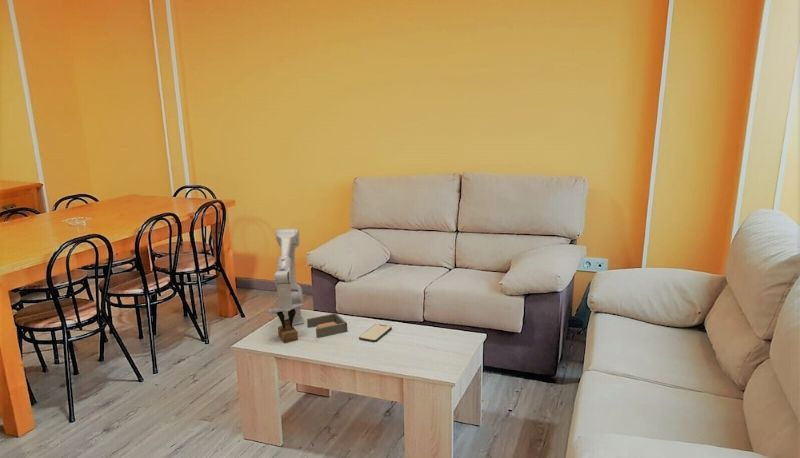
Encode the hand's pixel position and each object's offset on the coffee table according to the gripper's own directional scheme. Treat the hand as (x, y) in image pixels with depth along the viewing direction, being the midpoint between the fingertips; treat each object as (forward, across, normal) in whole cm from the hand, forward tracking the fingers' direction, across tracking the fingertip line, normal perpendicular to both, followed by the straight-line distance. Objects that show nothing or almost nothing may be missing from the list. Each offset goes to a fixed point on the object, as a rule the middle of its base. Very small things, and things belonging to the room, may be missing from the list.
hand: (287, 326), depth 256 cm
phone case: (+6, +35, -16) cm, 39 cm away
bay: (+5, +18, 0) cm, 19 cm away
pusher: (+5, 0, 0) cm, 5 cm away
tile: (+6, +18, 0) cm, 19 cm away
